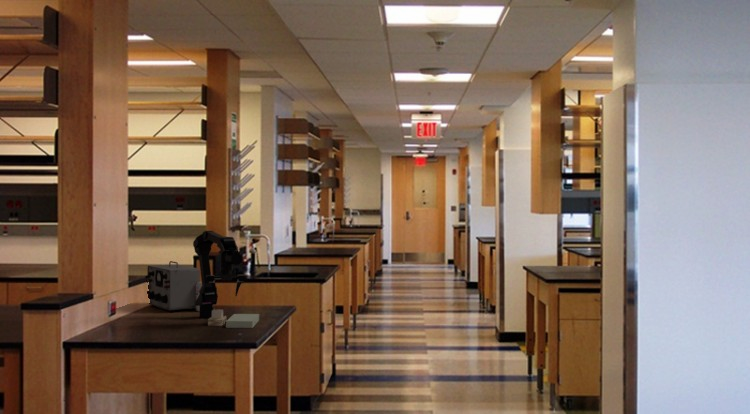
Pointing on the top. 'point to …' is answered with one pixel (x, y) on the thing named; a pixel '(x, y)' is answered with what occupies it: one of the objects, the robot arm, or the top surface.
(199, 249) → the robot arm
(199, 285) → the supplement can
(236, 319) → the dock
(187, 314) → the top surface
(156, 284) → the vintage electronic device
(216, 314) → the box
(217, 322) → the tall tan box
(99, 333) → the top surface
